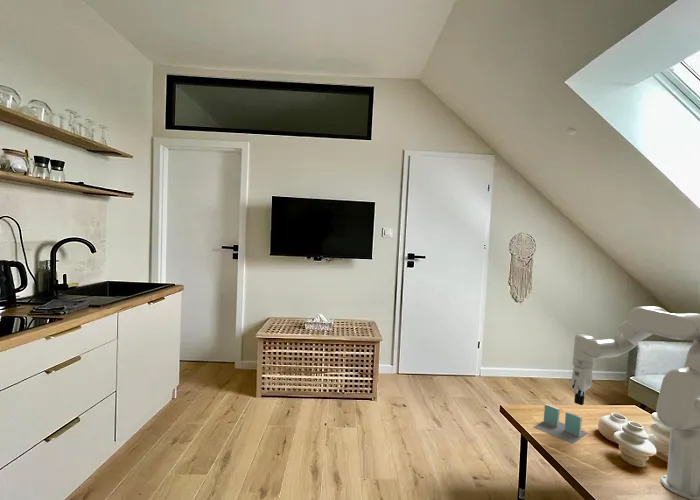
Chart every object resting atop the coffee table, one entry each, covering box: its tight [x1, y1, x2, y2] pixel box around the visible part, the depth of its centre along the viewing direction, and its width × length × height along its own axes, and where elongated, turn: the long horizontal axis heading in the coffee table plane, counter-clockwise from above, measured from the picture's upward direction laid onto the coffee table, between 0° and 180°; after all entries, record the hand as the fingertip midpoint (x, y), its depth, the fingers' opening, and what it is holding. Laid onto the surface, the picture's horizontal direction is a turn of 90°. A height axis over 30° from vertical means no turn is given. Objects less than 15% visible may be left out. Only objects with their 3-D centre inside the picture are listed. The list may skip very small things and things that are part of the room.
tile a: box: [564, 411, 583, 436], centre depth 161 cm, size 6×1×8 cm, turn 37°
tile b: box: [543, 403, 560, 427], centre depth 168 cm, size 6×1×8 cm, turn 37°
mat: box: [533, 421, 589, 445], centre depth 163 cm, size 16×16×1 cm
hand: (578, 403), depth 165 cm, fingers closed
